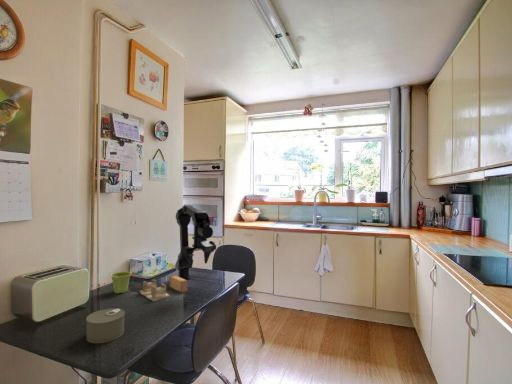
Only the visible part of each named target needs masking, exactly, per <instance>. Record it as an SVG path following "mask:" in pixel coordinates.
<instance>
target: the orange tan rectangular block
mask: <svg viewBox="0 0 512 384" xmlns="http://www.w3.org/2000/svg"><path fill="white" fill-rule="evenodd" d="M168 277H169V279H168V280H169V281H168V282H169V283H168V287H170V288H171V289H174V290H176V291H178V292H180V293H181V294H183V293H186V292H188V279H187V280H185V279H183V278H180V277H178V275H175V274H173V275H169V276H168Z"/></svg>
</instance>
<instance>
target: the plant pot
mask: <svg viewBox="0 0 512 384" xmlns="http://www.w3.org/2000/svg"><path fill="white" fill-rule="evenodd" d="M131 275H132V273H131V272H130V271H120V272H119V271H118V272H115V273H112V274H110V277H111V280H112V286H113V293H115V294H124V293H126V292H127V291H128V289H129V283H130V277H131Z"/></svg>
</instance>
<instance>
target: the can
mask: <svg viewBox="0 0 512 384" xmlns="http://www.w3.org/2000/svg"><path fill="white" fill-rule="evenodd" d="M125 315H126V310H124V309H123V308H119V307H118V308H117V307H109V308H103V309H99V310H96V311H94V312H91V313H90V314H89V315H87V316H86V319H85V321H86V341H87V342H89V343H91V344H102V343H107V342H111V341H115V340H116V339H118V338H120V337H121V336H122V335H123V334H124V332H125Z"/></svg>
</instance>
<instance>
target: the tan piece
mask: <svg viewBox="0 0 512 384" xmlns="http://www.w3.org/2000/svg"><path fill="white" fill-rule="evenodd" d="M139 294H141V295H142V296H144V297H145V298H147V299H149V300H151V301H152V302H157V301H160V300H163V299H168V298H170V294H169V293H167V285H166V284H165V283H161V286H159V287H158V285H157V280H156V279H154V278H153V279H152V281H150V282H147V281H145V280H144V281H142V289H141V290H139Z"/></svg>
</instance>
